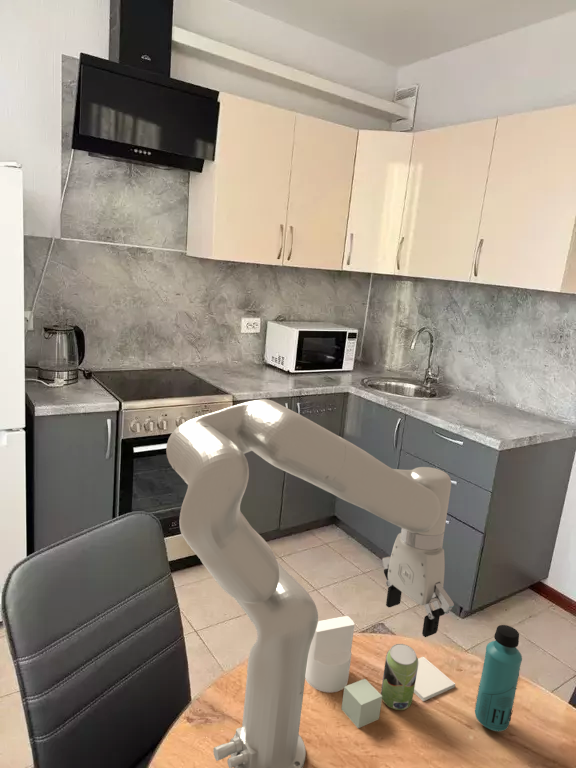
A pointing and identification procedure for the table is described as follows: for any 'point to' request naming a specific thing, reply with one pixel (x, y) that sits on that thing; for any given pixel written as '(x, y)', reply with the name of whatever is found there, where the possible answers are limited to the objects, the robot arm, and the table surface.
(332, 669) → the cylinder with rectangular tab
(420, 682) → the coaster
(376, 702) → the sage block
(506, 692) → the beverage bottle
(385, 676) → the beverage can
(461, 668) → the table surface
